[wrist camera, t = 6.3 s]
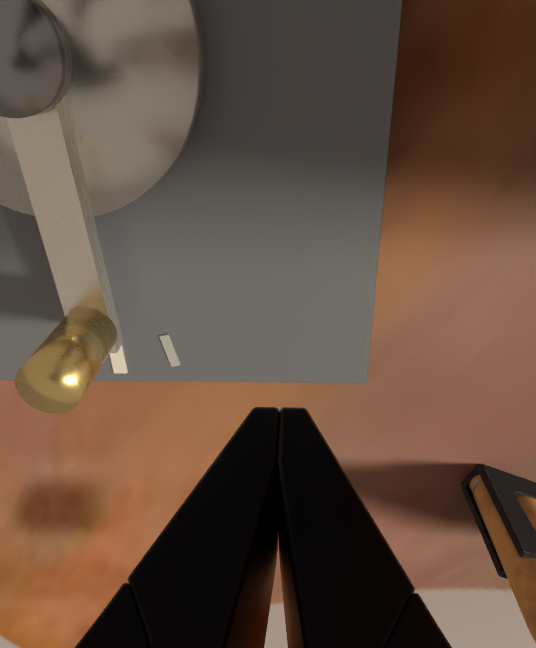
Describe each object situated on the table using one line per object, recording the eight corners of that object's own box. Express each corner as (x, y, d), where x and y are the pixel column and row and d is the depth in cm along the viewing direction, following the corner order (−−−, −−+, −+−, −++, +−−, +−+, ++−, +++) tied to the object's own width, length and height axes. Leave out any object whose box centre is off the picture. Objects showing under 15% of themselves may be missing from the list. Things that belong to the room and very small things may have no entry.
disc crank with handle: (-183, -149, 13) (-467, -271, 8) (181, -182, 12) (108, -337, 7) (-1, 329, 20) (-93, 414, 15) (231, 325, 20) (211, 412, 15)
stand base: (-558, -610, 10) (-662, -692, 9) (459, -730, 9) (482, -841, 8) (-90, 364, 23) (-109, 380, 22) (362, 367, 22) (366, 384, 21)
